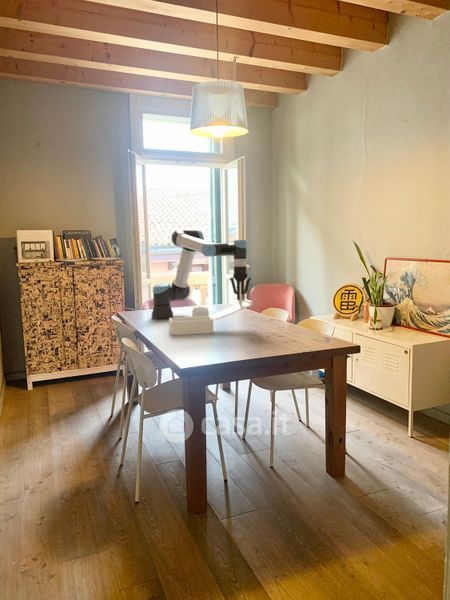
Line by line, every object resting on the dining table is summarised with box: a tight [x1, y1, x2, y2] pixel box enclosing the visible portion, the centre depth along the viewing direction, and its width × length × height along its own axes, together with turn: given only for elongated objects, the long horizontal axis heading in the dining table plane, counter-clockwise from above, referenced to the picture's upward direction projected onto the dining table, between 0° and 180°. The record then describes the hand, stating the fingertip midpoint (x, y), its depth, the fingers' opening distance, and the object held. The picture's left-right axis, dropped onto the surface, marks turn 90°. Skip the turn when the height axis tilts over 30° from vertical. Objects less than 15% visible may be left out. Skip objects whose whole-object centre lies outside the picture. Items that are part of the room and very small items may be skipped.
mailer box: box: [168, 315, 214, 337], centre depth 261 cm, size 13×24×8 cm, turn 104°
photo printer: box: [191, 306, 210, 317], centre depth 277 cm, size 10×4×12 cm, turn 85°
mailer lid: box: [209, 298, 254, 322], centre depth 265 cm, size 13×25×2 cm, turn 104°
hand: (240, 305), depth 266 cm, fingers closed
